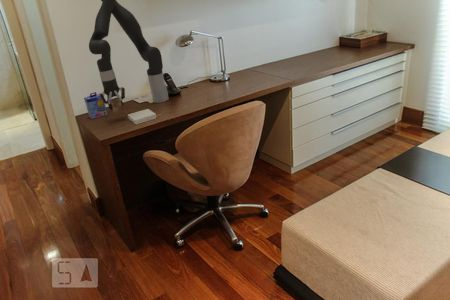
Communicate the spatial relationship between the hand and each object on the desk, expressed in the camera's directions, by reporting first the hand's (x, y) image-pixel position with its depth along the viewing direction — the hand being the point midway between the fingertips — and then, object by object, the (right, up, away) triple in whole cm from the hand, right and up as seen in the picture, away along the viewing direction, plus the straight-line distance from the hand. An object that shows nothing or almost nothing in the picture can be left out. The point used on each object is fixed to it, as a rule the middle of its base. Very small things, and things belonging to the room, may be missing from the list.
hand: (116, 108), depth 199 cm
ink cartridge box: (-15, -3, +14) cm, 20 cm away
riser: (+14, -6, +1) cm, 15 cm away
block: (0, -1, 0) cm, 1 cm away
